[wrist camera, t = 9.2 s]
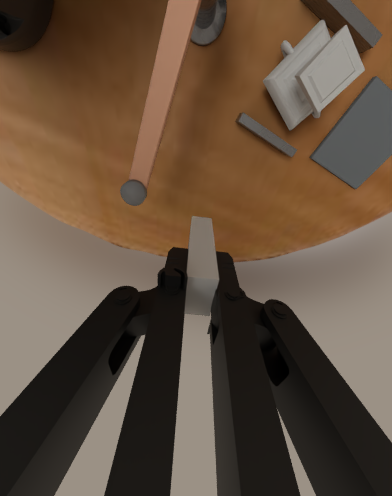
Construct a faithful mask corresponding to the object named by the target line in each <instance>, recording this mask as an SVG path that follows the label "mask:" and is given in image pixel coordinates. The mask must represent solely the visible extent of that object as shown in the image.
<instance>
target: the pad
mask: <svg viewBox="0 0 392 496" xmlns="http://www.w3.org/2000/svg"><path fill="white" fill-rule="evenodd" d="M391 155H392V91H391V90H390V89H389V88H388V87H387V86H386V85H385V84H384V83H383V82H382V81H381V80H380V79H379V78H378V77H377V76H376V77H373V78H372V79H371V80H370V82H369V83H368V84H367V85H366V87H365V88H364V89H363V90H362V92H361V93H360V94H359V95H358V97H357V98H356V99H355V101H354V102H353V103H352V104H351V106H350V107H349V108H348V109H347V111H346V112H345V113H344V114H343V116H342V117H341V118H340V119H339V121H338V122H337V123H336V125H335V126H334V127H333V128H332V130H331V131H330V132H329V133H328V135H327V136H326V137H325V138H324V140H323V141H322V142H321V143H320V145H319V146H318V147H317V149H316V150H315V151H314V152H313V154H312V155H311V156H310V158H311V159H312V160H314V161H315V162H317V163H318V164H320V165H321V166H322V167H324V168H325V169H327V170H328V171H330V172H331V173H333V174H334V175H335V176H337V177H338V178H340V179H341V180H343V181H344V182H346V183H347V184H348V185H350V186H351V187H353V188H354V189H357V188H358V187H359V186H360V185H361V184H362V183H363V182H364V181H365V180H366V179H367V178H368V177H369V176H370V175H371V174H372V173H373V172H374V171H375V170H377V169H378V168H379V167H380V166H381V165H382V164H383V163H384V162H385V161H386V160H387V159H388V158H389V157H390V156H391Z"/></svg>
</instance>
